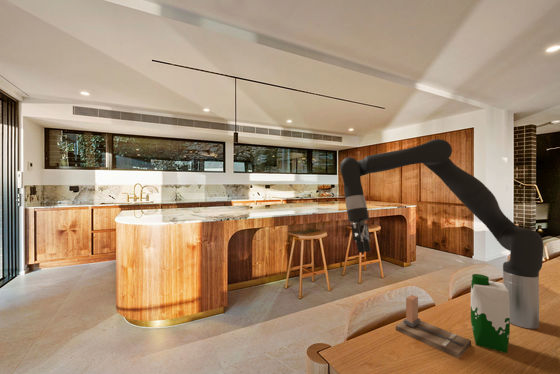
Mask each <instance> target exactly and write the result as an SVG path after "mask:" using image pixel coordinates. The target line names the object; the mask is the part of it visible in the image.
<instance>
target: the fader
mask: <svg viewBox="0 0 560 374" xmlns="http://www.w3.org/2000/svg"><path fill="white" fill-rule="evenodd" d="M420 320H421V318H419V297H418V296H417V295H413V294H411V295H409V296H407V297H406V298H405V318H404V319H403V321H404V324H406V325H409V326H411V327H414V326H416V325H417V324H419V323H420Z"/></svg>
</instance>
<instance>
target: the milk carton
mask: <svg viewBox="0 0 560 374" xmlns="http://www.w3.org/2000/svg"><path fill="white" fill-rule="evenodd" d="M470 286H471V288H470V324H471V329H472V333H473V338H474V343H475V346H478V347H481V348H486V349H489V350H492V351H496V352H501V353H505V354H508V349H509V344H510V343H509V342H510V341H509V340H510V334H511V332H510V331H511V327H510V326H511V325H510V324H511V323H510V302H509V291H508V290H507V288H506V287H505V285H504V284H503V282H497V281H494V280H493V281H492V280H490V278H489V276H488V275H484V274H479V273H472V275H471V285H470Z"/></svg>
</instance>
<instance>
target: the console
mask: <svg viewBox="0 0 560 374" xmlns="http://www.w3.org/2000/svg"><path fill="white" fill-rule="evenodd" d="M395 331H397V332H398V333H401V334H404V335H406V336H409V337H410V338H412V339H414V340H416V341H419V342H421V343H424V344H425V345H427V346H430V347H432V348H434V349H436V350H438V351H441V352H443V353H445V354H448V355H450V356H451V357H454V358H456V359H460V358H461V357H463V355H464V354H465V353H466V351H467V350H468V349H469V348H471V346H472V340H471V339H468V338H466V337H463V336H461V335H459V334H456V333H454V332H451V331H448V330H446V329H443V328H442V327H441V328H440V327H438V326H436V325H433V324H431V323H428V322H425V321H423V320H421V319H420V323H419V324H417V325H416V326H414V327H411V326H409V325H406V324H404V320H402V321H400V322H398V323H397V324H396V325H395Z"/></svg>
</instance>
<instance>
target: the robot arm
mask: <svg viewBox="0 0 560 374" xmlns="http://www.w3.org/2000/svg"><path fill="white" fill-rule="evenodd" d="M452 153H453V147H452V145H451V144H450V143H449V142H448V141H447V140H445V139H441V138H440V139H439V138H435V139H432V140H429V141H427V142H425V143H422V144H419V145H416V146H412V147H408V148H404V149H399V150H393V151H386V152H380V153H376V154H371V155H367V156H365V157H364V158H362V159H358V160H357V159H356V158H354V157H351V156H348V157H345V158H344V159H342V161H341V162H340V165H339V168H340V172H339V173H340V174H341V177H342V181H343V191H344V198H345V207H346V208H345V209H346V214H347V219H348V222H349V223H350V225H351V233H352V239H353V240H354V241H355V243H356V249H357V253H359V254H360V253H361V254H362V253H369V252H371V251H372V250H371V245H370V240H371V236H370V232H369V231H370V230H369V225H368V223H365V221H369V220H370V216H369V211H368V205H367V201H366V197H365V194H364V189H363V186H362V180H361V179H362V178H361V177H363V176H365V175H368V174H375V173H380V172H386V171H390V170H394V169H395V170H396V169H398V168H402V167H406V166H411V165H417V164H423V165H424V166H425V167H426V168H427V169H429V170H430V171H431V172H433V173H434V174H435V175H436V176H437V177H439V179H440V180H441V181H442V182H443V183H444V184H445V186H446V187H448V189H449V190H450V191H451V192H452V193H453V194H454V196H456V198H457V199H458V200H459V201H460V202H461V203H462V204H463V205H464V206H465V207H466V208H467V209H468V210H469V211H470V212H471V213H472V214H473V215H474V216H475V217H476V218H477V219H478V220H479V221H480V222H482V223H483V224H484V225H485V227H486V228H487V229H488V231H490V233H491V234H492V235H493V237H494V238H495V240H496V241H497V242H498V243H499V244H500V246H502V248H504V249H505V250H508V251H509V252H510V257H509V260H508V261H505V262H503V264H502V283H503V284H504V285H505V287H506V288H507V290H508V291H509V302H510V324H512V325H513V326H517V327H520V328H525V329H533V330H535V329H539V328H540V271H541V270H542V267H543V262H544V260H543V259H544V242H543V238H542V236H541V235H540V234H539V233H538V232H537V231H535V230H533V229H530V228H525V227H520V226H518V225H517V224H515V223H514V222H512V221H511V219H510V218H509V217H507V216H506V215H505V214H504V212H503V210H501V208H500V205H499V202H498V201H497V198H496V197H495V195H494V193H493V192H492V191H491V190H490V189H489V187H487V186H486V185H485V184H484V183H483V182H482V181H481V180H480V179H478V178H476V177H475V176H474V175H472V174H470V173H469V172H467V171H466V170H463V169H462V168H460V167H459V166H457V165H456V164H455V163H454V162H453V161H452V160H451V159H450V157H451V156H452Z"/></svg>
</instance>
